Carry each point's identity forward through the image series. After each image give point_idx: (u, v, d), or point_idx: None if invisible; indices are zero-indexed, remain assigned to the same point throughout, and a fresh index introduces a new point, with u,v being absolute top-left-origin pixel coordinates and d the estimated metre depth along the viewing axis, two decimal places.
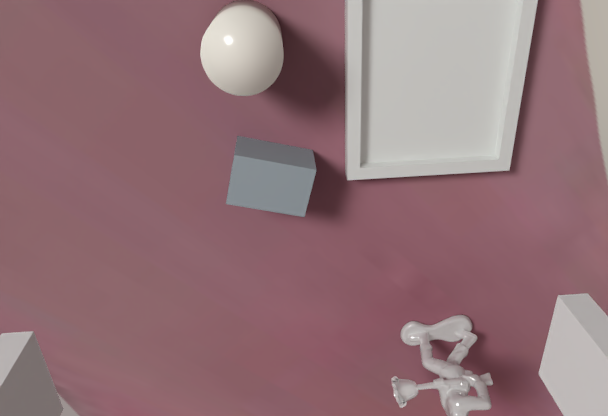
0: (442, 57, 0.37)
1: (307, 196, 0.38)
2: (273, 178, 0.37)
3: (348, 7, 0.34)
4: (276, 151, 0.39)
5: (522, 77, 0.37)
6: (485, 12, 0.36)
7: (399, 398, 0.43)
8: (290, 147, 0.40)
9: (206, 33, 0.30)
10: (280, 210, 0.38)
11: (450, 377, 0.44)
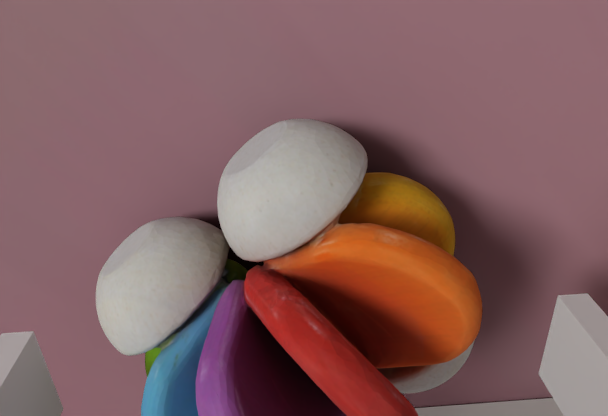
0: None
1: None
2: None
3: None
4: None
5: None
6: None
7: None
8: None
9: None
10: None
11: None
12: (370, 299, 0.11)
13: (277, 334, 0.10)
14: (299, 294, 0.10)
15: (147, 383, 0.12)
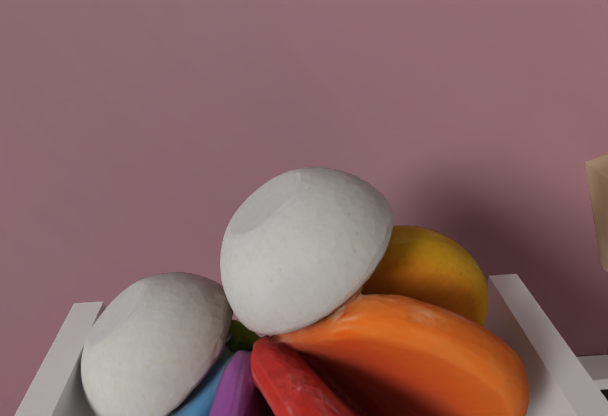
0: None
1: None
2: None
3: None
4: None
5: None
6: None
7: None
8: None
9: None
10: None
11: None
12: (398, 381, 0.10)
13: None
14: (317, 382, 0.09)
15: None
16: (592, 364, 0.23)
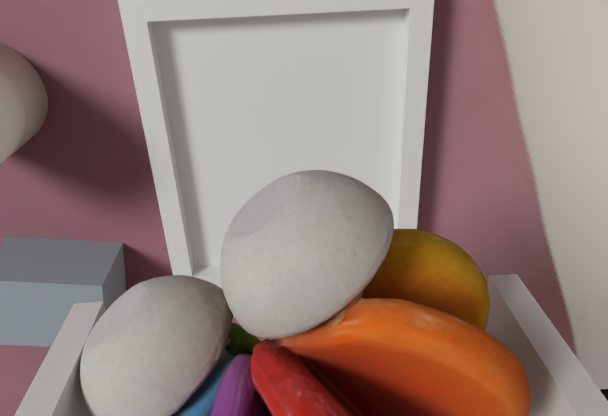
0: (297, 122, 0.24)
1: None
2: (41, 303, 0.25)
3: (129, 51, 0.22)
4: (55, 257, 0.26)
5: (418, 152, 0.25)
6: (355, 56, 0.23)
7: None
8: (86, 244, 0.27)
9: None
10: None
11: None
12: (399, 386, 0.10)
13: None
14: (317, 387, 0.09)
15: None
16: None
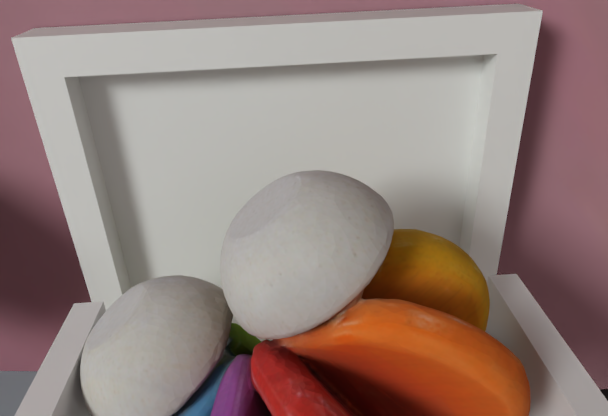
0: None
1: None
2: None
3: (40, 124, 0.13)
4: None
5: (493, 262, 0.16)
6: (401, 124, 0.15)
7: None
8: (2, 378, 0.19)
9: None
10: None
11: None
12: (399, 386, 0.10)
13: None
14: (317, 387, 0.09)
15: None
16: (370, 13, 0.13)
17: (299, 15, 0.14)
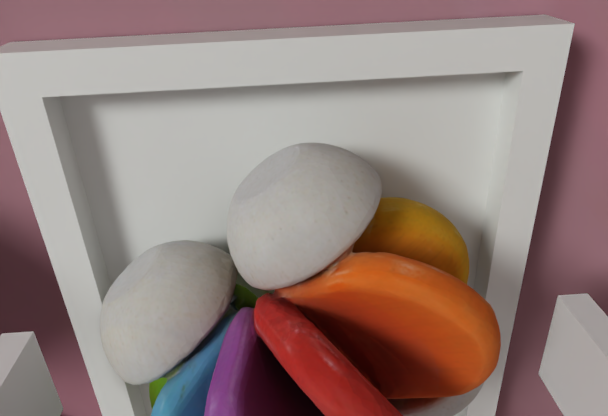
0: None
1: None
2: None
3: (16, 148, 0.12)
4: None
5: (513, 294, 0.15)
6: (414, 145, 0.14)
7: None
8: None
9: None
10: None
11: None
12: (385, 330, 0.11)
13: (290, 369, 0.09)
14: (313, 326, 0.10)
15: (152, 415, 0.11)
16: (381, 25, 0.12)
17: (303, 27, 0.12)
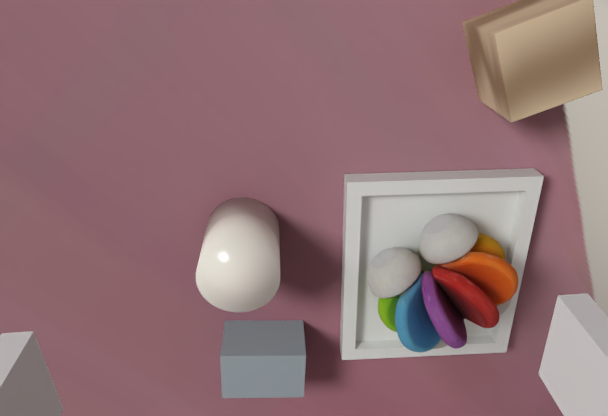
0: None
1: (302, 379, 0.37)
2: (264, 369, 0.36)
3: (347, 212, 0.34)
4: (265, 335, 0.38)
5: (520, 273, 0.37)
6: (484, 213, 0.36)
7: None
8: (279, 323, 0.39)
9: (202, 260, 0.30)
10: (278, 395, 0.38)
11: None
12: (480, 278, 0.33)
13: (456, 285, 0.31)
14: (460, 274, 0.32)
15: (398, 306, 0.33)
16: (477, 173, 0.34)
17: (448, 171, 0.34)
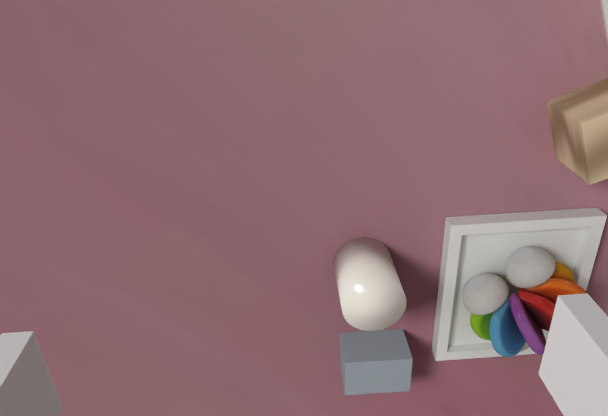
0: None
1: (409, 377, 0.46)
2: (379, 371, 0.46)
3: (449, 248, 0.43)
4: (375, 343, 0.47)
5: (584, 289, 0.45)
6: (556, 243, 0.44)
7: None
8: (384, 332, 0.48)
9: (348, 293, 0.38)
10: (389, 390, 0.47)
11: None
12: None
13: (541, 306, 0.40)
14: (543, 297, 0.40)
15: (492, 321, 0.42)
16: (552, 213, 0.42)
17: (528, 212, 0.43)
